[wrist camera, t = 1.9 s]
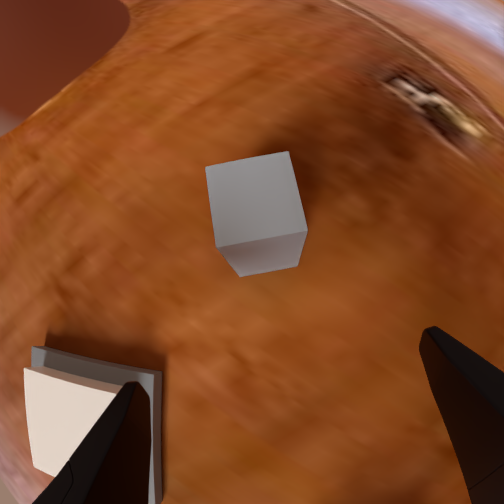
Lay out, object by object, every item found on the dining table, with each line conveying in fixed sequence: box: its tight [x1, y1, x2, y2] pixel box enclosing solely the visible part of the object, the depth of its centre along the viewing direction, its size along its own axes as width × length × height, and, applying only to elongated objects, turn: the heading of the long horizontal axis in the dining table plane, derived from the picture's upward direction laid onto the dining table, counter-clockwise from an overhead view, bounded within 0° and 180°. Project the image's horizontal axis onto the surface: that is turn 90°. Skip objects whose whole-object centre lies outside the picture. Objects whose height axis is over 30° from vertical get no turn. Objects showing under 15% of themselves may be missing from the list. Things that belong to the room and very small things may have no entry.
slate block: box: [205, 151, 308, 277], centre depth 19 cm, size 4×4×9 cm
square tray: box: [32, 346, 163, 504], centre depth 21 cm, size 12×12×2 cm
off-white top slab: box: [24, 366, 122, 477], centre depth 19 cm, size 9×9×2 cm
